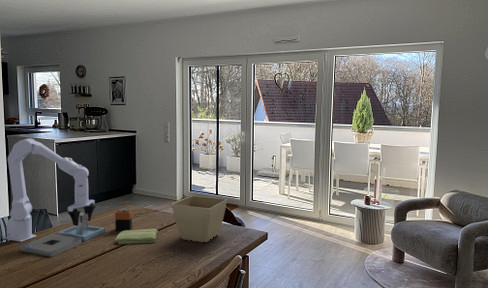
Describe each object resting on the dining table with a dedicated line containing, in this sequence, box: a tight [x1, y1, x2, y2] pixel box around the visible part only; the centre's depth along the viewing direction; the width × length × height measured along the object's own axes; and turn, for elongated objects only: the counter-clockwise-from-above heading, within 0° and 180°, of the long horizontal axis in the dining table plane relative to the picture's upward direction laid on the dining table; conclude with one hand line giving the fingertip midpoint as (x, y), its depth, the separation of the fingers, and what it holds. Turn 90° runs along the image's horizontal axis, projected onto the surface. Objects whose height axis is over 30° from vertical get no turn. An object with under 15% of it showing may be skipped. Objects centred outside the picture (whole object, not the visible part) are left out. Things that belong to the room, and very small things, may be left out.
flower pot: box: [171, 195, 228, 243], centre depth 169 cm, size 19×19×17 cm
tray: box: [57, 225, 106, 242], centre depth 169 cm, size 15×13×2 cm
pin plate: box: [19, 233, 83, 258], centre depth 153 cm, size 16×16×2 cm
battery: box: [114, 208, 133, 232], centre depth 177 cm, size 4×7×10 cm, turn 91°
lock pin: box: [76, 212, 89, 235], centre depth 169 cm, size 4×4×9 cm
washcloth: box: [114, 228, 159, 245], centre depth 166 cm, size 13×18×3 cm
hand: (82, 222), depth 169 cm, fingers open, 7 cm apart
